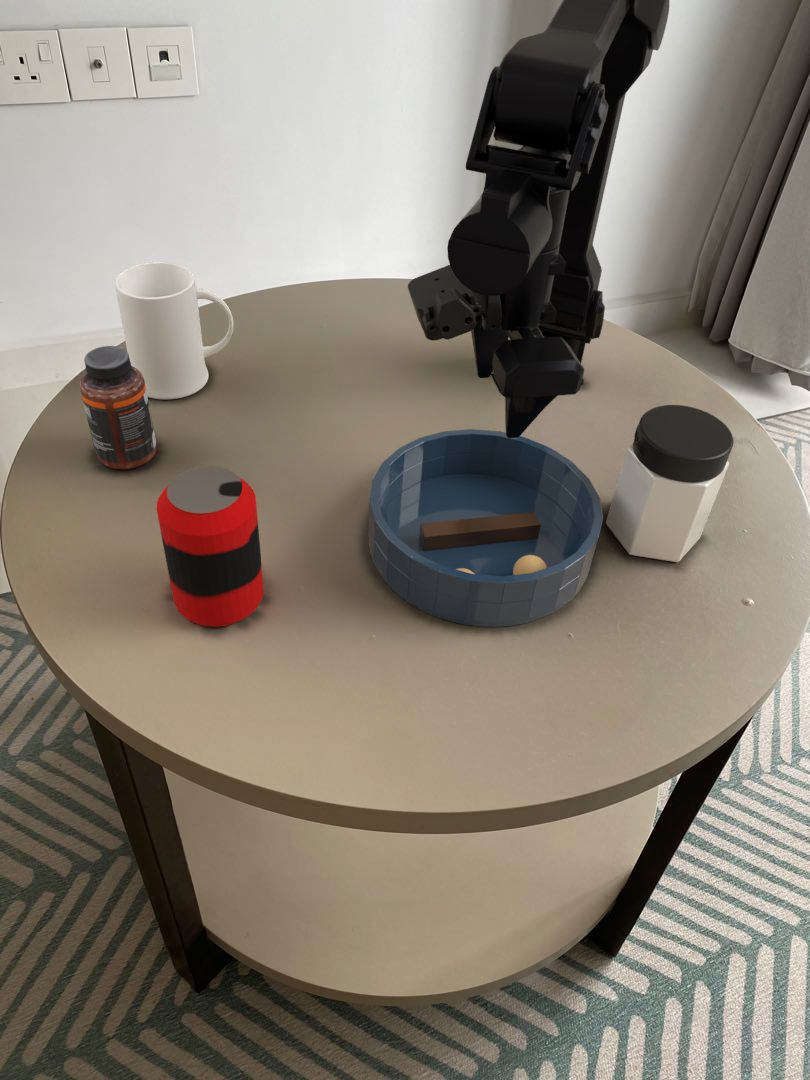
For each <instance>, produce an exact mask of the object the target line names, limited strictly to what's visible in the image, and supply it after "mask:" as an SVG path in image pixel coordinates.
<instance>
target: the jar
mask: <svg viewBox="0 0 810 1080" xmlns="http://www.w3.org/2000/svg"><path fill="white" fill-rule="evenodd" d="M633 437H634V439H633V442H632V443H631V444H630V445H628V447H627V448H626V451H625V454H624V457H623V461H622V465H621V467H620V472H619V475H618V479H617V482H616V485H615V490H614V492H613V497H612V500H611V503H610V506H609V510H608V513H607V517H606V520H605V525H606V526H607V527H608V529H609V530H610V531H611V533H612V534H613V535H614V536H615V538H616V539H617V540H618V542H619V543H620V544H621V546H622V547H623V549H624V550H625V551H626V553H627V554H628V555H630V556H634V557H643V558H648V559H654V560H660V561H666V562H671V563H679V562H680V561H681V560H682V559H683V558H684V557H685V555H687V553H688V552H689V551H690V550H691V549H692V548H693V547H694V545H696V544H697V543H698V541H699V540H700V538H701V537H702V534H703V531H704V530H705V527H706V524H707V521H708V519H709V517H710V514H711V511H712V510H713V506H714V504H715V501H716V498H717V496H718V493H719V491H720V489H721V486H722V484H723V481H724V478H725V476H726V473H727V471H728V469H729V466H730V462H729V461H728V460H729V457H730V454H731V452H732V450H733V447H734V436H733V434H732V431H731V430H730V428H729V427H728V426H727V425H726V424H725V423H724V422H723V421H722V420H721V419H720V418H719V417H717V416H715V415H713V414H711V413H709V412H707V411H705V410H702V409H699V408H696V407H694V406H693V407H692V406H688V405H680V404H664V405H659V406H655V407H652V408H651V409H649V410H647V411H646V412H645V413H643V414H642V416H641V417H640V419H639V422H638V423H637V426H636V428H635V431H634V435H633Z"/></svg>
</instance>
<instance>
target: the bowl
mask: <svg viewBox="0 0 810 1080" xmlns="http://www.w3.org/2000/svg"><path fill="white" fill-rule="evenodd" d="M602 508H603V507H602V503H601V498H600V495H599V494H598V492H597V490H596V488H595V486H594V485H593V483H592V481H591V479H590V478H589V477H588V476H587V475H586V474H585V473H584V471H582V470H581V469H580V468H579V467H578V466H577V465H576V464H575V463H574V462H573V461H572V460H570V459H569V458H567V457H566V456H565V455H563V454H561V453H560V452H558V451H557V450H555V449H554V448H552V447H549V446H547V445H544V444H542V443H540V442H538V441H535V440H532V439H531V438H528V437H525V436H522V435H520V436H519V437H517V438H508V437H507V436H506V431H505V432H503V431H500V430H487V429H473V428H467V429H455V430H445V431H440V432H436V433H431V434H429V435H425V436H421V437H418V438H416V439H414V440H412V441H410V442H409V443H406V444H404V445H402V446H400V447H398V448H397V449H396V450H395V451H394V452H393V453H391V454H390V455H389V456H388V457H387V458H386V459H385V460H384V461H383V462H381V464H380V466H379V467H378V469H377V471H376V473H375V475H374V476H373V478H372V480H371V486H370V493H369V505H368V529H367V530H368V532H367V533H368V535H367V540H368V547H369V553H370V557H371V559H372V563H373V566H374V567H375V569H376V571H377V572H378V574H379V576H380V577H381V579H382V580H383V581H384V583H386V585H387V587H389V588H390V589H391V590H392V591H393V592H394V593H395V594H396V595H397V596H398V597H400V598H401V599H403V601H406V603H408V604H410V605H412V606H413V607H415V608H417V609H418V610H420V611H422V612H424V613H426V614H428V615H431V616H433V617H435V618H439V619H441V620H444V621H447V622H452V623H456V624H461V625H465V626H473V627H481V628H500V627H501V628H502V627H513V626H518V625H524V624H528V623H531V622H534V621H535V622H536V621H538V620H541V619H543V618H546V617H547V616H550V615H552V614H554V613H556V612H557V611H559V610H561V609H562V608H563V607H565V606H566V605H567V604H568V603H569V602H571V601H572V600H573V599H574V598H575V596H576V595H578V593H579V592H580V591H581V589H582V588H583V586H584V584H585V582H586V580H587V578H588V576H589V573H590V569H591V566H592V562H593V559H594V555H595V551H596V548H597V544H598V541H599V537H600V534H601V529H602V525H603V521H604V514H603V509H602ZM530 512H535V513H536V515H537V517H538V520H539V522H540V524H541V527H540V531H539V536H538V539H530V540H521V541H512V542H503V543H493V544H484V545H475V546H466V547H457V548H447V549H438V550H429V551H423V548H422V545H421V542H420V539H419V534H420V524H423V523H433V522H442V521H452V520H462V519H472V518H482V517H491V516H501V515H511V514H521V513H530ZM526 555H535V556H538V557H539V558H541V559H542V560H543V561H544V562H545V564H546V566H547V568H545V569H542V570H539V571H537V572H534V573H529V574H520V575H513V568H514V565H515V563H516V562H517V561H518V560H519V559H520V558H521V557H523V556H526ZM459 568H464V569H468V570H470V571H472V572H473V573H474V574H471V573H467V572H463V571H460V570H456V569H459Z"/></svg>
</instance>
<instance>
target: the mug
mask: <svg viewBox="0 0 810 1080" xmlns="http://www.w3.org/2000/svg"><path fill="white" fill-rule="evenodd" d="M114 289H115V293H116V299H117V304H118V310H119V314H120V320H121V325H122V330H123V336H124V342H125V347H126V351H127V352H128V354H129V359H130V362H131V366H133V367H135V368H136V369H138V370H139V371H140V372H141V374H142V375H143V378H144V381H145V386H146V391H147V396H148V399H149V398H150V399H154V400H161V401H162V400H164V401H165V400H177V399H183V398H186V397H189V396H191V395H194V394H195V393H197V392H199V391H201V389H203V388H204V387H205V386H206V384H207V383H208V381H209V378H210V377H209V374H210V373H209V370H208V368H207V365H206V358H207V357H210V356H212V355H213V356H214V355H215V354H217V353H219V352H220V351H221V350H224V348H225V347H226V346H227V345H228V343H229V342H230V340H231V338H232V336H233V333H234V327H235V325H234V317H233V314H232V311H231V309H230V307H229V306H228V304H227V303H226V302H225V301H224V300H223V299H222V298H221V297H220V296H218V294H216V293H214V292H212V291H210V290H207V289H204V288H201V287H198V286H197V285H196V278H195V275H194V273H193V272H192V271H191V270H190V269H189V268H187V267H185V266H182V265H180V264H177V263H171V262H162V261H161V262H160V261H157V262H156V261H154V262H146V263H145V262H144V263H140V264H136V265H133V266H132V265H131V266H130V267H128V268H126V269H124V270H122V271H120V272H119V274H117V275H116V276H115V279H114ZM198 300H207V301H210V302H213V303H215V304H216V305H218V306H219V307H220V308H221V309H222V310H223V311H224V313H225V314H226V316H227V319H228V329H227V332H226V334H225V336H224V337H223V338H222V339H221V340H220V341H219V342H216V343H215V344H213V345H208V346H207V345H205V346H204V344H203V336H202V327H201V320H200V311H199V302H198Z"/></svg>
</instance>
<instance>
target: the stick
mask: <svg viewBox="0 0 810 1080" xmlns="http://www.w3.org/2000/svg"><path fill="white" fill-rule="evenodd" d="M540 527H541V524H540V522H539V520H538V517H537V515H536V513H535V512H530V513H521V514H511V515H501V516H491V517H482V518H472V519H462V520H452V521H442V522H433V523H423V524H420V534H419V539H420V542H421V545H422V548H423V551H429V550H438V549H447V548H457V547H466V546H475V545H484V544H493V543H503V542H512V541H521V540H530V539H538V536H539V531H540Z"/></svg>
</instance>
